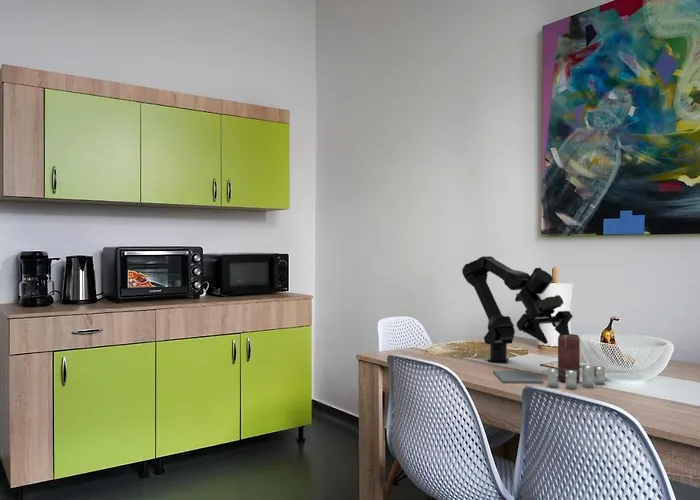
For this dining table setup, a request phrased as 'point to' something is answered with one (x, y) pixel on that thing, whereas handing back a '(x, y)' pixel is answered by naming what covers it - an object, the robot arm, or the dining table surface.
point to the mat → (517, 377)
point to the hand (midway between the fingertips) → (558, 342)
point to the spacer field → (589, 377)
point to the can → (568, 355)
